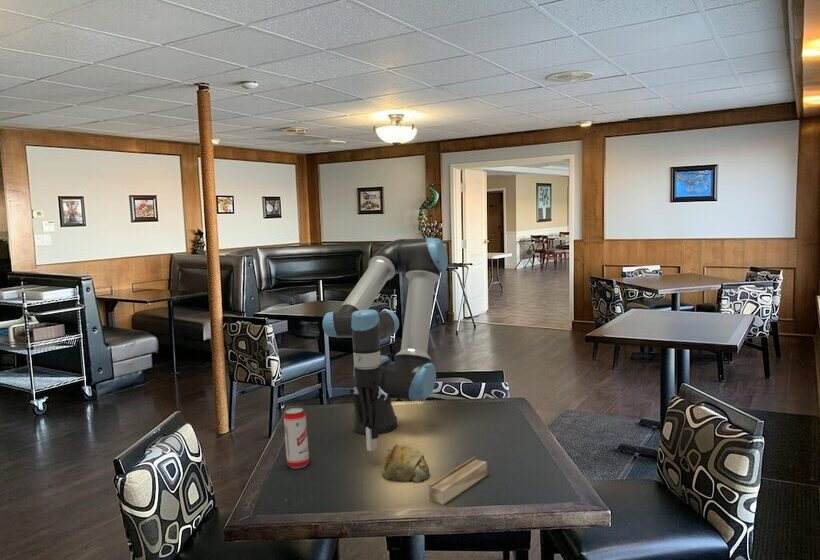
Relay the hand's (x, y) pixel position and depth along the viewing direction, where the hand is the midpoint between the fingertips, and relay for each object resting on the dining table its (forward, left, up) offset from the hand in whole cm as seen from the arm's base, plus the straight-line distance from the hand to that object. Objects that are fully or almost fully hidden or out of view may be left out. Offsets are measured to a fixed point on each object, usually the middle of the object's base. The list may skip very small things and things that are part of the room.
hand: (372, 449), depth 173 cm
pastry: (+12, 0, -5) cm, 13 cm away
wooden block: (+29, 0, -4) cm, 29 cm away
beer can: (-18, -12, -5) cm, 22 cm away
